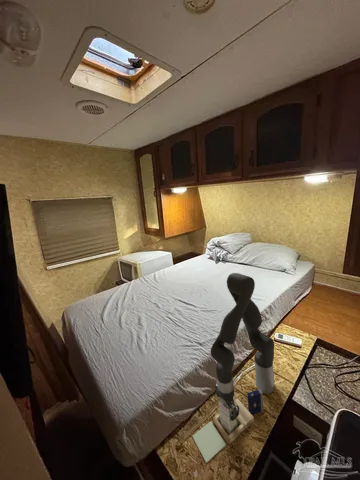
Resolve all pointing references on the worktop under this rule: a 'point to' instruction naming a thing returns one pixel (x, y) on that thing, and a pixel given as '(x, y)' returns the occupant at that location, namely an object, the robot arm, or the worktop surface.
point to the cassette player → (255, 401)
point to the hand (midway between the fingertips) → (227, 412)
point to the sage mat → (208, 441)
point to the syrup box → (226, 417)
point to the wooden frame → (242, 419)
